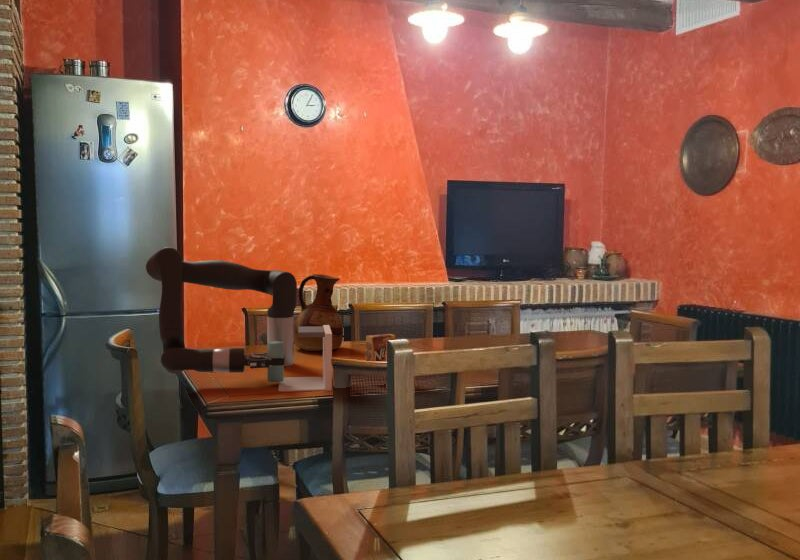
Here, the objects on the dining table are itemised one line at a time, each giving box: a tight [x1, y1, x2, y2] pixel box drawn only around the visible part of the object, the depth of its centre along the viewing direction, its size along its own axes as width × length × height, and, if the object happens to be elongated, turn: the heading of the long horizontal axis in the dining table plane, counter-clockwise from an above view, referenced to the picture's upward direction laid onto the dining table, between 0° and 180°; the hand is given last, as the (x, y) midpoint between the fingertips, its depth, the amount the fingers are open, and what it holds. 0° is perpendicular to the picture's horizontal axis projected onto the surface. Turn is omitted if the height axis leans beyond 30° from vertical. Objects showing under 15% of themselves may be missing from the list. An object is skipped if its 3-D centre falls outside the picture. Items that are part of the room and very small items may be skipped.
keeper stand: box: [278, 325, 333, 392], centre depth 240 cm, size 18×16×18 cm
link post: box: [266, 341, 285, 383], centre depth 239 cm, size 5×5×12 cm
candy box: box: [364, 333, 396, 361], centre depth 245 cm, size 9×4×15 cm, turn 123°
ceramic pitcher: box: [294, 273, 344, 352], centre depth 300 cm, size 20×20×30 cm
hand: (284, 359), depth 239 cm, fingers closed on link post, 5 cm apart
